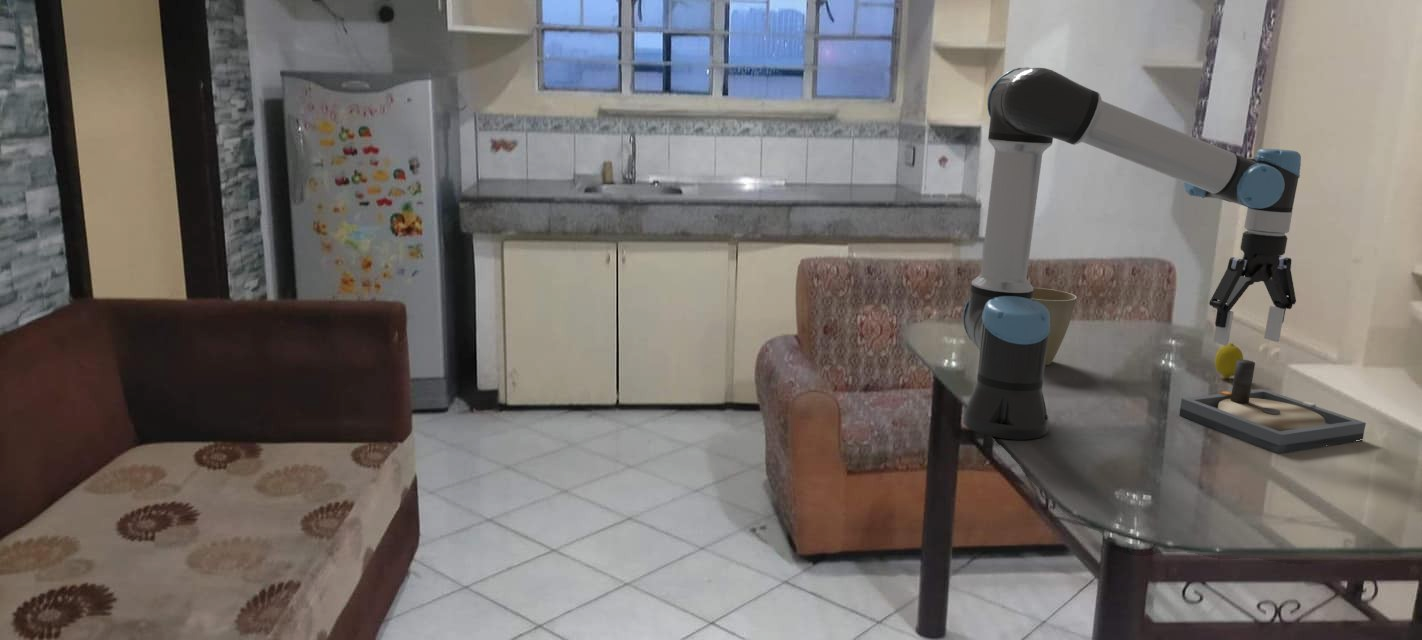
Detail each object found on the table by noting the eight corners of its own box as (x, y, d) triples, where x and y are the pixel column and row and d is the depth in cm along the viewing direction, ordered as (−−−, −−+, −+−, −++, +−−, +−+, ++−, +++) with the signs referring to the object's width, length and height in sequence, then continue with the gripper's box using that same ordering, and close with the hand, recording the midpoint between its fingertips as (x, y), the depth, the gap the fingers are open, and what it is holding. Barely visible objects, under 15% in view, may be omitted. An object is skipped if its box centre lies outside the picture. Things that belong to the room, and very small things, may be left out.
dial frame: (1277, 453, 184) (1281, 432, 183) (1179, 415, 204) (1181, 396, 203) (1362, 440, 193) (1366, 420, 192) (1259, 405, 213) (1262, 386, 212)
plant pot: (1077, 371, 233) (1086, 301, 229) (1010, 369, 233) (1017, 299, 229) (1057, 354, 247) (1065, 288, 244) (994, 351, 248) (1001, 285, 244)
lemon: (1211, 379, 230) (1217, 344, 229) (1213, 373, 235) (1218, 339, 233) (1239, 383, 228) (1245, 348, 226) (1240, 377, 233) (1245, 342, 231)
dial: (1346, 430, 194) (1355, 380, 191) (1277, 440, 187) (1286, 389, 184) (1262, 401, 210) (1269, 355, 207) (1196, 409, 203) (1203, 362, 200)
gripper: (1294, 228, 204) (1275, 333, 209) (1200, 230, 195) (1182, 340, 200) (1329, 234, 198) (1308, 343, 203) (1234, 236, 188) (1215, 350, 193)
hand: (1246, 342), depth 201 cm, fingers open, 13 cm apart
